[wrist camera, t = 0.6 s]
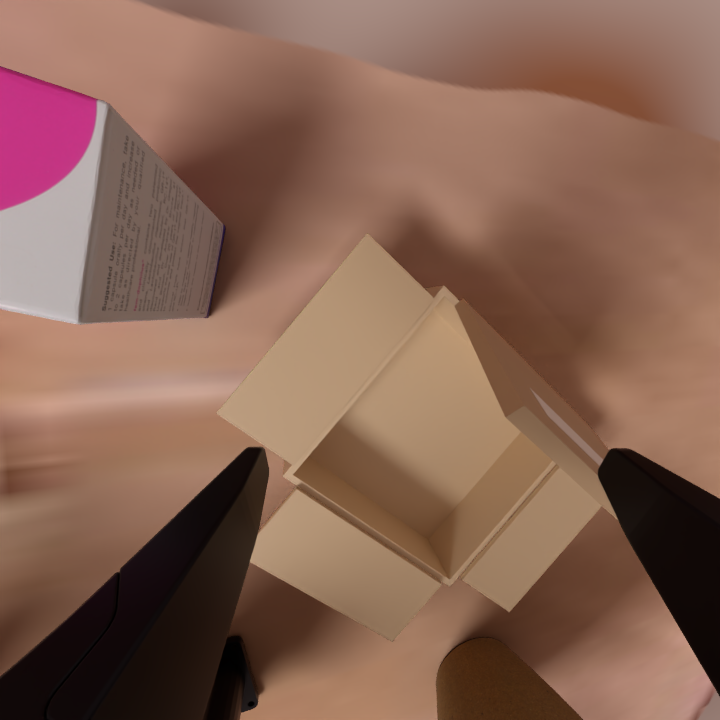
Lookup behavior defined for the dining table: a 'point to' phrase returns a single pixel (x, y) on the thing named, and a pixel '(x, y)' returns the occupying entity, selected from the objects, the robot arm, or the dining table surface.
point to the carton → (397, 454)
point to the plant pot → (494, 686)
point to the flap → (537, 407)
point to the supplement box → (95, 215)
